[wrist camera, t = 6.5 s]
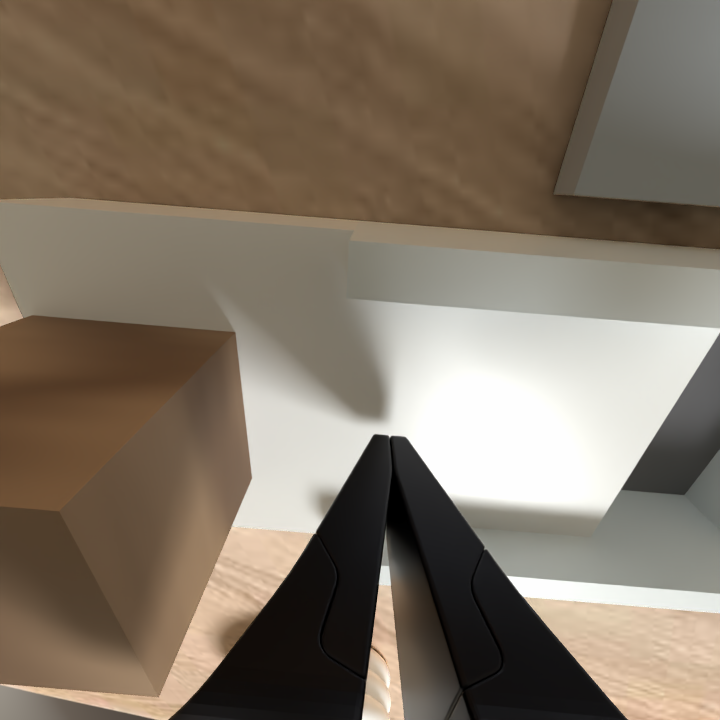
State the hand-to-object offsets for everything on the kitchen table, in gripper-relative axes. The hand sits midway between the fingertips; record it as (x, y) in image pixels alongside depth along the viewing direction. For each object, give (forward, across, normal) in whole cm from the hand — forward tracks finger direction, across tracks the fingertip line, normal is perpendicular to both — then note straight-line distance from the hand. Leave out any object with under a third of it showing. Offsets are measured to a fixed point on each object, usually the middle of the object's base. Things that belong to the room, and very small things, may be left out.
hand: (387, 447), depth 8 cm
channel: (+3, -3, 0) cm, 4 cm away
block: (+1, +6, 0) cm, 7 cm away
